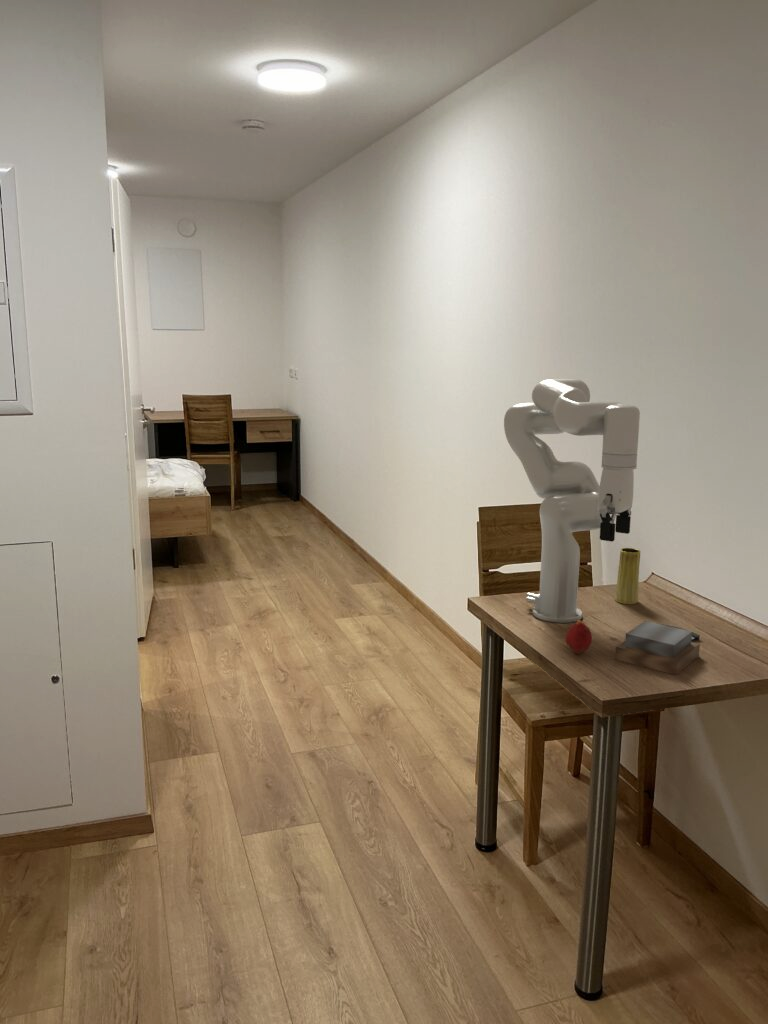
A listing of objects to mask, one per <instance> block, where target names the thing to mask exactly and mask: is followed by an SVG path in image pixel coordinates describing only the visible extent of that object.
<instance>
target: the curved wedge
mask: <svg viewBox="0 0 768 1024" xmlns="http://www.w3.org/2000/svg"><path fill="white" fill-rule="evenodd" d="M655 623H656V622H655ZM656 624H660V625H665V626H669V627H674V628H678V629H683V630H687V629H685V628H682V627H677V626H673V625H669V624H665V623H664V624H663V623H656ZM687 631H689V630H687ZM700 637H701V635H700V634H699V633H696V632H693V631H692V639H691V642H694V641H699V640H700Z"/></svg>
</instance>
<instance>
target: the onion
mask: <svg viewBox="0 0 768 1024" xmlns="http://www.w3.org/2000/svg"><path fill="white" fill-rule="evenodd" d="M575 622H576V623H574V624H572V625H571V626H570V627H569V628H568V630H567V631H566V633H565V634H566V635H565V642H566V645H567V646H568V647H569V648H570V649H571V650H572V651H573V653H575V654H577V655H578V654H581V653H583V652H585V651H587V650H588V649H589V648H590V646H591V645H592V641H593V635H592V632H591V629H590V628H589V627H588V626H587V625H585V624H584V623H583V621H581V619H580V620H577V621H575Z"/></svg>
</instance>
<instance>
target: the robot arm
mask: <svg viewBox="0 0 768 1024" xmlns="http://www.w3.org/2000/svg"><path fill="white" fill-rule="evenodd" d="M531 399H532V402H524V403H517V404H514V405H512V406H510V407H509V408H508V409H507V410H506V412H505V414H504V418H503V430H504V434H505V437H506V440H507V442H508V445H509V447H510V448H511V449H512V451H513V453H514V454H515V455H516V457H518V459H519V461H520V463H521V465H522V467H523V470H524V471H525V474H526V475H527V476H526V477H527V478H528V481H529V483H530V485H531V488H532V489H533V491H534V493H535V495H537V496H538V497H539V498H541V499H543V501H542V502H541V504H540V506H539V520H540V527H541V554H540V555H541V557H540V572H539V573H540V577H539V593H538V594H536V593H533V592H527V593H526V596H525V597H526V599H525V600H526V602H527V603H530V604H534V606H533V607H532V611H531V612H532V615H533V616H534V617H535V618H537V619H540V620H543V621H546V622H551V623H561V624H562V623H573V622H576V621H577V620H580V621H581V619H582V618H583V612H582V610H581V609H580V608H578V607H577V606H578V605H577V604H578V590H579V576H580V575H579V574H580V572H579V571H580V560H581V559H580V558H581V557H580V556H581V555H580V553H581V549H580V546H579V543H578V542H577V540H576V539H575V537H574V535H573V533H574V532H575V533H576V532H583V531H585V532H586V531H596V530H599V540H600V541H605V542H611V543H612V542H614V541H615V539H616V537H615V536H616V533H618V534H619V533H620V534H626V535H628V534H630V533H631V518H632V517H631V515H632V510H631V509H632V507H633V500H634V486H635V485H634V481H635V480H634V477H635V476H634V470H637V465H638V447H639V433H640V420H641V419H640V418H641V416H640V414H641V413H640V409H639V408H638V407H637V406H635V405H630V404H629V405H628V404H623V403H621V402H617V401H590V400H591V391H590V389H589V387H588V385H587V383H585V382H584V381H583V380H581V379H576V378H554V379H553V378H552V379H551V378H550V379H544V380H541V381H540V382H538V383H537V384H536V385H534V388H533V389H532V393H531ZM563 433H567V434H570V435H573V436H579V437H580V436H581V437H583V436H602V450H601V451H602V453H601V468H602V471H601V476H600V482H598V480H597V478H596V476H595V474H594V472H593V470H592V469H591V468H590V467H589V466H588V465H587V464H585V463H584V462H581V461H560V460H558V459H557V458H556V456H555V455H554V452H553V450H552V449H551V447H550V446H549V445H548V444H547V443H546V442H545V441H544V440H542V439H541V438H540V437H538V436H539V435H558V434H559V435H560V434H563ZM536 435H538V436H536ZM614 522H615V523H614Z"/></svg>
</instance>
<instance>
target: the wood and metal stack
mask: <svg viewBox="0 0 768 1024" xmlns="http://www.w3.org/2000/svg"><path fill="white" fill-rule="evenodd" d="M660 624H661V623H658V624H656V622H651V621H646V620H644V621H642V622H641V623H639V624H638V625H637V626H635V627H634V628H632V629H631V630H629V631H627V632H626V633H625V636H624V637H625V638H624V639H625V640H623V641H622V642H620V643H619V644H617V645H616V646H615V650H614V660H616V661H619V662H620V661H621V662H624V663H627V662H628V663H627V664H631V665H635V666H639V667H643V668H647V669H651V670H655V671H659V672H663V673H667V674H671V675H675V676H677V675H679V673H680V674H681V672H682V671H683V670H684V669H686V668H687V667H689V666H690V664H692V663H693V662H694V661H695V660H697V658H699V657H700V648H701V647H700V645H701V644H700V643H698V642H694V641H691V639H692V632H693V631H690V630H688V631H687V629H685V630H683V629H684V628H682V629H678V628H679V627H678V628H674V627H675V626H674V627H669V626H670V625H669V626H665V625H666V624H664V625H660Z"/></svg>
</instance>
